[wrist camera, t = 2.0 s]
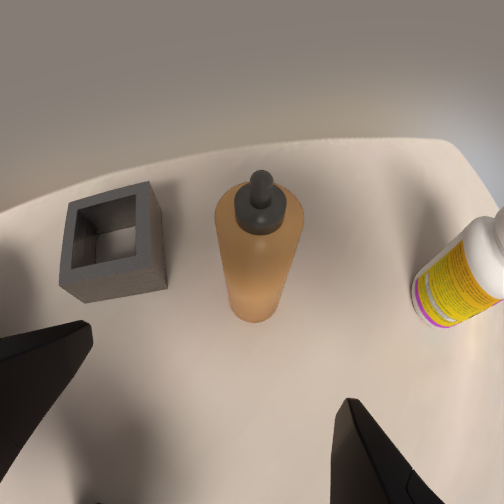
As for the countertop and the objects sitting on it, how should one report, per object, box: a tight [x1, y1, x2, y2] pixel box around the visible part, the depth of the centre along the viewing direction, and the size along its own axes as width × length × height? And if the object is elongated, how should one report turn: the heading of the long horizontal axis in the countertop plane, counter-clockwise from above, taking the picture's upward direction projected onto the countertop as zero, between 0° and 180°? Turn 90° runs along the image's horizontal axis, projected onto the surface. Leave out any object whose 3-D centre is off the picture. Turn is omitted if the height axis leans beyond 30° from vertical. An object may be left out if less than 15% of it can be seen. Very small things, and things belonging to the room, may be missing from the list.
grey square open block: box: [59, 181, 167, 303], centre depth 23 cm, size 8×8×4 cm
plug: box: [215, 170, 304, 323], centre depth 17 cm, size 4×4×15 cm
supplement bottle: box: [412, 207, 504, 330], centre depth 18 cm, size 7×7×13 cm
